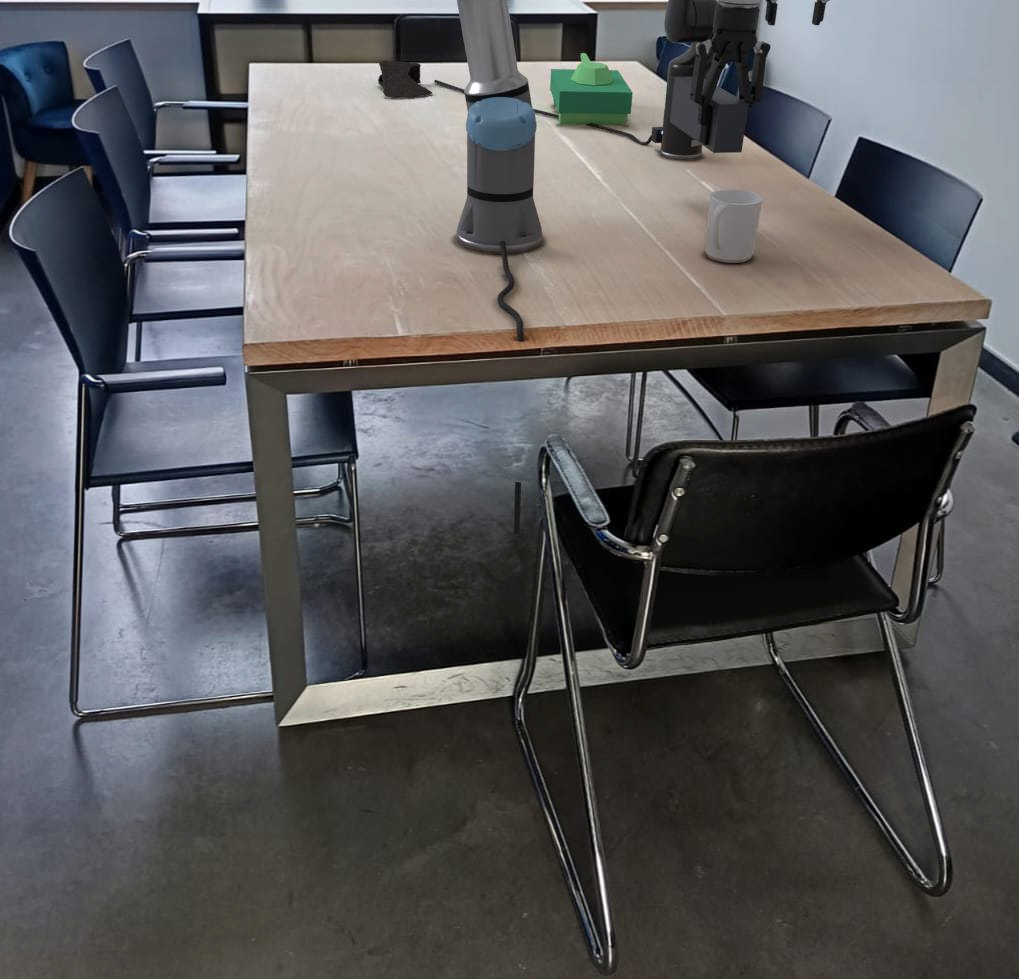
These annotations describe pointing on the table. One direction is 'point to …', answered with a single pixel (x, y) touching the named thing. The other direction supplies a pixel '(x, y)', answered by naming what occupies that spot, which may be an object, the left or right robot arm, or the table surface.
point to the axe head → (401, 79)
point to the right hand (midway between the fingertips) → (793, 24)
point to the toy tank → (590, 94)
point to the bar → (724, 118)
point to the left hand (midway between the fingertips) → (719, 142)
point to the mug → (732, 225)
